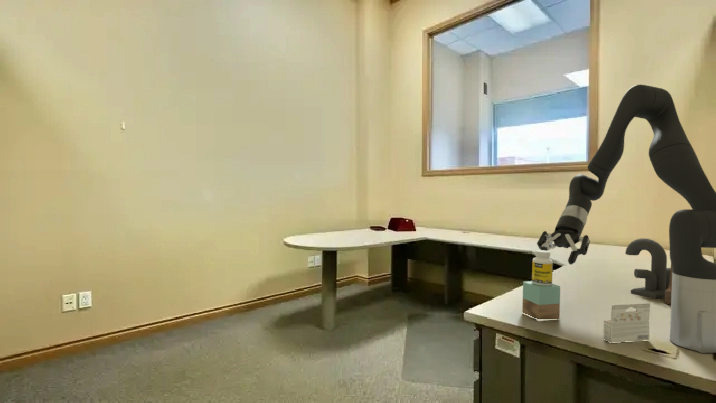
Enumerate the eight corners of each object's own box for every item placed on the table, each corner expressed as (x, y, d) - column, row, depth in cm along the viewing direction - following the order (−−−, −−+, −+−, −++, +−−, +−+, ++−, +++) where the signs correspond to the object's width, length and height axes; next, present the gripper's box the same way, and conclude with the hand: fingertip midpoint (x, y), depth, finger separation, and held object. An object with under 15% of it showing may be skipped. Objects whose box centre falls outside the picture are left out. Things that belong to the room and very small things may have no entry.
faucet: (640, 284, 150) (641, 235, 150) (686, 294, 135) (688, 240, 135) (609, 288, 144) (611, 237, 143) (654, 299, 129) (656, 242, 128)
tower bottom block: (559, 320, 107) (559, 303, 107) (538, 322, 105) (539, 304, 105) (542, 312, 114) (542, 296, 113) (522, 314, 112) (522, 297, 112)
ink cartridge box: (602, 340, 93) (603, 302, 92) (640, 338, 94) (642, 300, 94) (610, 344, 90) (612, 305, 90) (649, 342, 92) (651, 303, 92)
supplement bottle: (531, 284, 108) (532, 251, 108) (532, 280, 113) (532, 249, 112) (552, 287, 105) (552, 253, 105) (552, 283, 110) (552, 250, 110)
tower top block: (559, 303, 107) (560, 286, 106) (539, 305, 105) (539, 287, 105) (542, 296, 113) (542, 280, 113) (522, 298, 112) (523, 281, 112)
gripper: (546, 213, 125) (528, 249, 119) (593, 215, 114) (576, 256, 108) (552, 227, 129) (536, 264, 122) (598, 231, 118) (583, 272, 111)
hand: (555, 260), depth 115 cm, fingers open, 8 cm apart
